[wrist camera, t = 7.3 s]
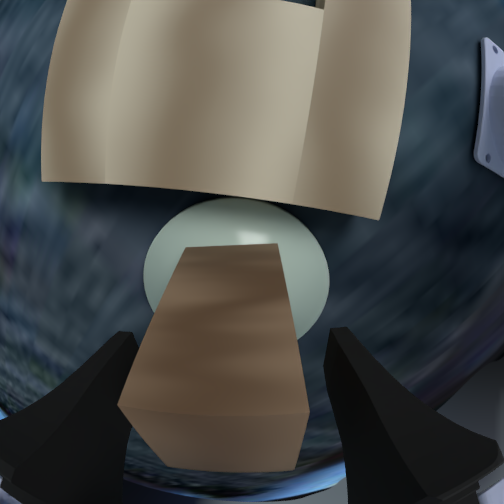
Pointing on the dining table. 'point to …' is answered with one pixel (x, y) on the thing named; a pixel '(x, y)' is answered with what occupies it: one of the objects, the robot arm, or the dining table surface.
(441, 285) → the dining table surface
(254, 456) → the walnut block
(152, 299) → the coaster
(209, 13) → the board
